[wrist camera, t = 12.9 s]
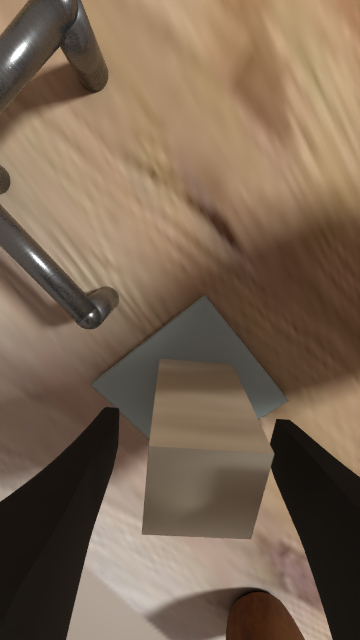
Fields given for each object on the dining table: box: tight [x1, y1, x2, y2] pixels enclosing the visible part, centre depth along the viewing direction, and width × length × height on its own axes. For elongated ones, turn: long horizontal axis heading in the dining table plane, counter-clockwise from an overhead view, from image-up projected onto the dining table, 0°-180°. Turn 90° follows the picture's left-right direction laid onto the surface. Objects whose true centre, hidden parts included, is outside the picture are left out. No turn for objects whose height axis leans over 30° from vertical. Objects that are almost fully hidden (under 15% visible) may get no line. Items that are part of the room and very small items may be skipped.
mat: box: [91, 294, 288, 440], centre depth 14 cm, size 8×8×1 cm
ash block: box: [142, 359, 274, 539], centre depth 11 cm, size 4×4×6 cm
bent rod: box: [0, 0, 119, 329], centre depth 10 cm, size 7×8×4 cm
